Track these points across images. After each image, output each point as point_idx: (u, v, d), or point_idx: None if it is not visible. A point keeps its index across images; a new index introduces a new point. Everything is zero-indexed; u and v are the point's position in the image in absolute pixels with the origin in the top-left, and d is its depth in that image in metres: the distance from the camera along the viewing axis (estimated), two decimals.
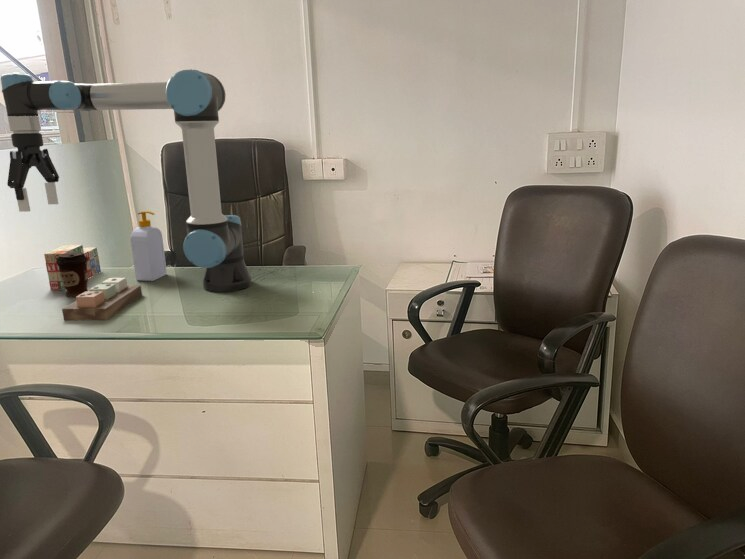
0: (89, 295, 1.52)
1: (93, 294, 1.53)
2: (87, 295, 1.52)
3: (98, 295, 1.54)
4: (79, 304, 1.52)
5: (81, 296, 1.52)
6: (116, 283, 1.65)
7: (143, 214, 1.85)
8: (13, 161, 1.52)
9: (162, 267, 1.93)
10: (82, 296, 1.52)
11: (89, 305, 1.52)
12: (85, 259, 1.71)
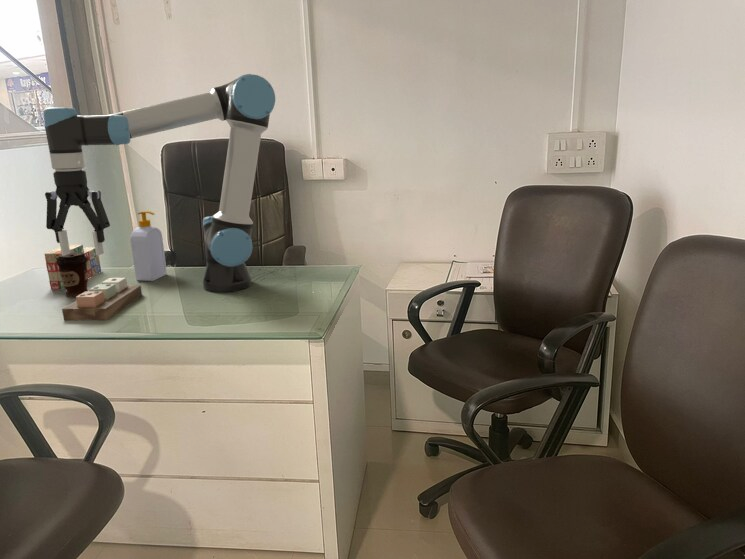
0: (89, 295, 1.52)
1: (93, 294, 1.53)
2: (87, 295, 1.52)
3: (98, 295, 1.54)
4: (79, 304, 1.52)
5: (81, 296, 1.52)
6: (116, 283, 1.65)
7: (143, 214, 1.85)
8: None
9: (162, 267, 1.93)
10: (82, 296, 1.52)
11: (89, 305, 1.52)
12: (85, 259, 1.71)
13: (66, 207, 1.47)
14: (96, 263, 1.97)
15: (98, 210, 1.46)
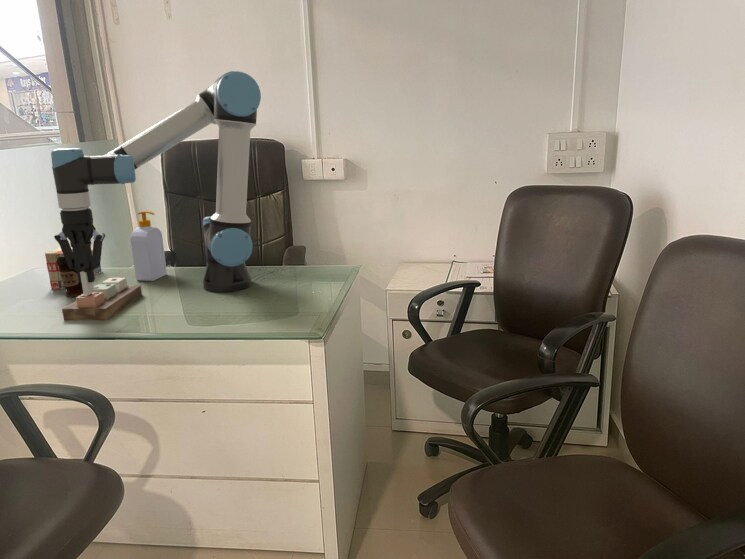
0: (89, 296, 1.52)
1: (93, 295, 1.53)
2: (87, 296, 1.53)
3: (98, 296, 1.54)
4: (79, 305, 1.52)
5: (81, 297, 1.52)
6: (116, 283, 1.65)
7: (143, 214, 1.85)
8: None
9: (162, 267, 1.93)
10: (82, 297, 1.52)
11: (89, 306, 1.52)
12: None
13: (78, 245, 1.50)
14: None
15: (95, 252, 1.49)
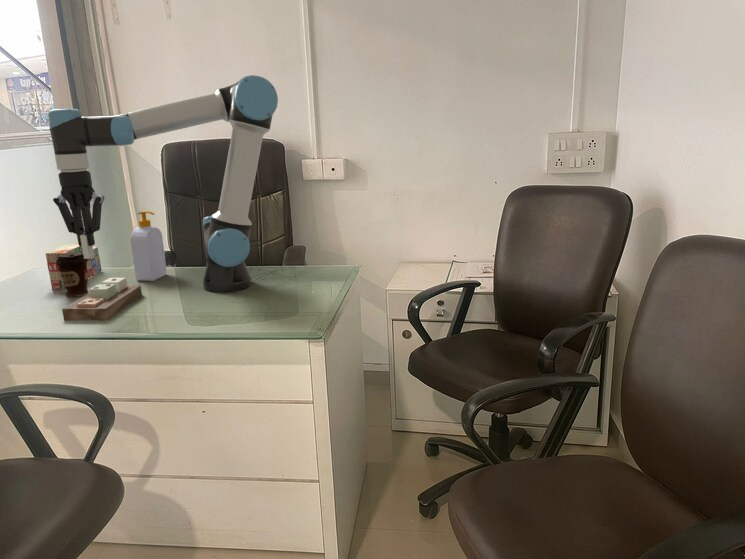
0: (90, 302, 1.53)
1: (94, 301, 1.54)
2: (88, 302, 1.53)
3: (99, 302, 1.54)
4: None
5: (82, 303, 1.52)
6: (116, 283, 1.65)
7: (143, 214, 1.85)
8: None
9: (162, 267, 1.93)
10: (83, 303, 1.52)
11: None
12: (85, 259, 1.71)
13: (77, 207, 1.49)
14: (97, 263, 1.98)
15: (95, 214, 1.48)
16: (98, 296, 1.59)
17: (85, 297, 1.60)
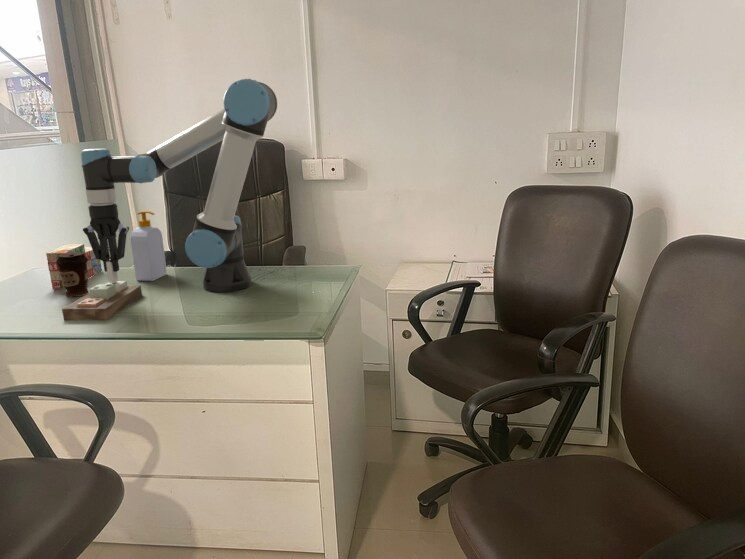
0: (90, 302, 1.53)
1: (94, 301, 1.54)
2: (88, 302, 1.53)
3: (99, 302, 1.54)
4: None
5: (82, 303, 1.52)
6: (117, 286, 1.65)
7: (143, 214, 1.85)
8: None
9: (162, 267, 1.93)
10: (83, 303, 1.52)
11: None
12: (85, 259, 1.71)
13: (104, 237, 1.63)
14: (97, 262, 1.98)
15: (120, 243, 1.63)
16: (98, 296, 1.59)
17: (85, 297, 1.60)
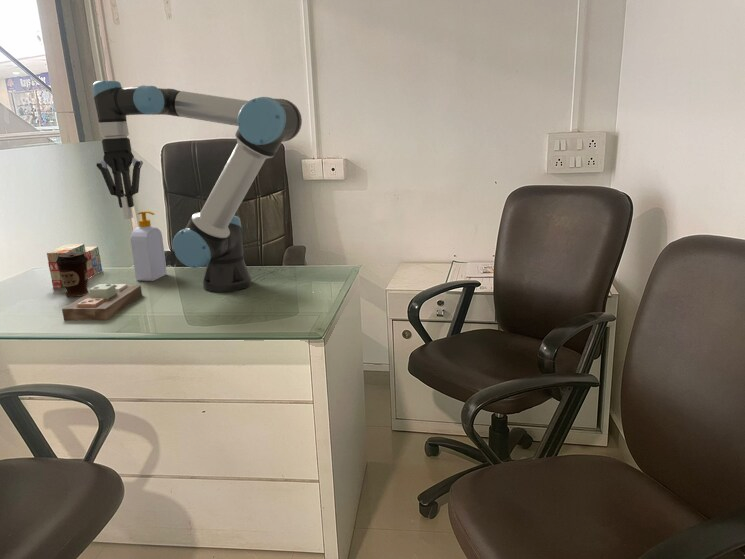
0: (90, 302, 1.53)
1: (94, 301, 1.54)
2: (88, 302, 1.53)
3: (99, 302, 1.54)
4: None
5: (82, 303, 1.52)
6: (117, 290, 1.65)
7: (143, 214, 1.85)
8: None
9: (162, 267, 1.93)
10: (83, 303, 1.52)
11: None
12: (85, 259, 1.71)
13: (118, 172, 1.64)
14: (97, 262, 1.98)
15: (135, 177, 1.63)
16: (98, 296, 1.59)
17: (85, 297, 1.60)
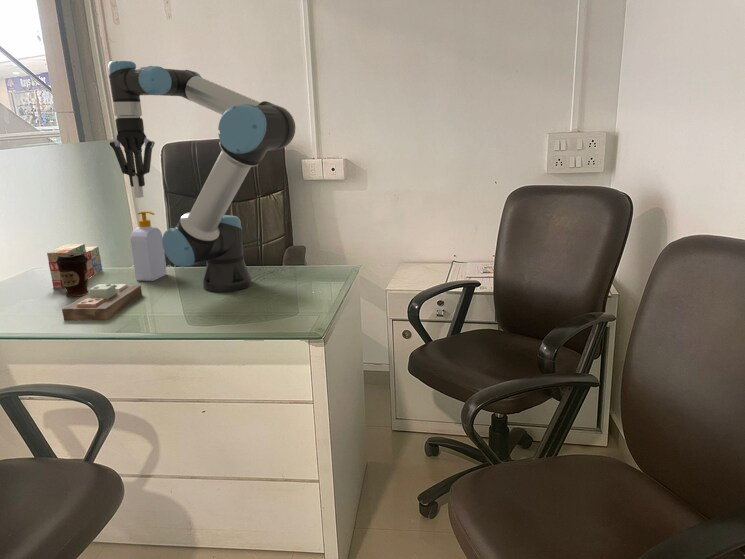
0: (90, 302, 1.53)
1: (94, 301, 1.54)
2: (88, 302, 1.53)
3: (99, 302, 1.54)
4: None
5: (82, 303, 1.52)
6: (117, 290, 1.65)
7: (143, 214, 1.85)
8: None
9: (162, 267, 1.93)
10: (83, 303, 1.52)
11: None
12: (85, 259, 1.71)
13: (130, 151, 1.67)
14: (97, 262, 1.98)
15: (146, 157, 1.66)
16: (98, 296, 1.59)
17: (85, 297, 1.60)
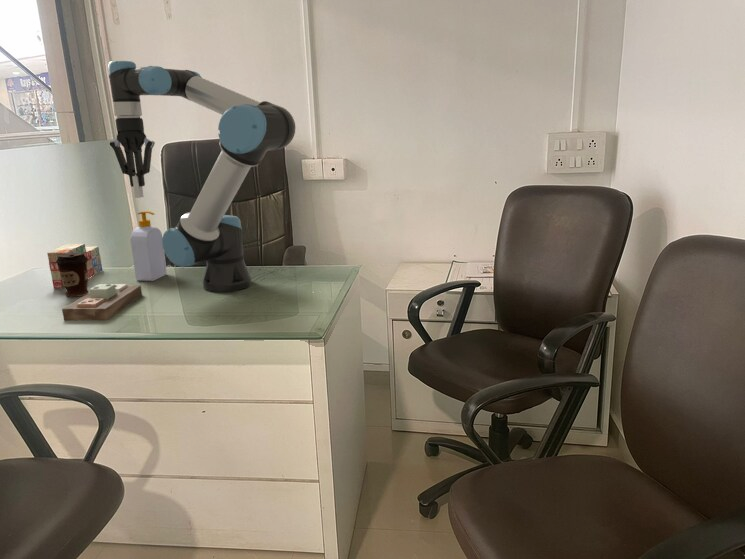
0: (90, 302, 1.53)
1: (94, 301, 1.54)
2: (88, 302, 1.53)
3: (99, 302, 1.54)
4: None
5: (82, 303, 1.52)
6: (117, 290, 1.65)
7: (143, 214, 1.85)
8: None
9: (162, 267, 1.93)
10: (83, 303, 1.52)
11: None
12: (85, 259, 1.71)
13: (130, 151, 1.67)
14: (97, 262, 1.98)
15: (146, 157, 1.66)
16: (98, 296, 1.59)
17: (85, 297, 1.60)
